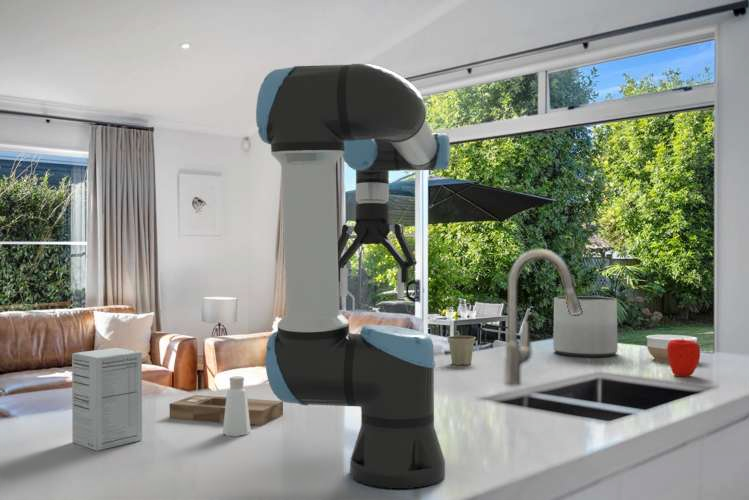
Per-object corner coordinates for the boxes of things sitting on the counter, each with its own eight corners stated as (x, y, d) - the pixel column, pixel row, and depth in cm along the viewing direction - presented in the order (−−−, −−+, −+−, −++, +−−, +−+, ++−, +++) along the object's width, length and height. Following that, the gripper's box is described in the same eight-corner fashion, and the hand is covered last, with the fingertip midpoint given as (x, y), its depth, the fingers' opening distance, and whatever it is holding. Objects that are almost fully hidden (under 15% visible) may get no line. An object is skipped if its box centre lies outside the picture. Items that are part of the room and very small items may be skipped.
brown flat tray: (262, 425, 142) (262, 409, 142) (169, 417, 149) (169, 402, 149) (282, 414, 152) (282, 400, 152) (195, 408, 158) (195, 394, 158)
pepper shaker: (223, 437, 133) (223, 380, 133) (221, 430, 138) (222, 375, 138) (251, 435, 134) (252, 378, 134) (249, 429, 139) (249, 374, 139)
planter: (576, 348, 265) (576, 295, 265) (629, 354, 248) (629, 298, 248) (540, 353, 251) (540, 297, 251) (595, 360, 234) (595, 300, 234)
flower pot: (444, 365, 221) (444, 338, 221) (449, 361, 230) (449, 335, 230) (473, 366, 219) (473, 339, 219) (477, 362, 228) (477, 336, 228)
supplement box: (117, 432, 136) (117, 347, 136) (143, 440, 130) (144, 351, 131) (70, 442, 129) (70, 352, 129) (95, 451, 123) (96, 356, 123)
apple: (706, 377, 200) (706, 340, 200) (683, 379, 197) (683, 341, 197) (682, 372, 208) (682, 336, 208) (660, 374, 205) (660, 337, 205)
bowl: (635, 358, 238) (635, 335, 238) (674, 356, 243) (674, 333, 243) (668, 365, 223) (668, 340, 223) (708, 363, 228) (708, 338, 228)
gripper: (429, 203, 156) (429, 297, 156) (327, 205, 164) (327, 295, 164) (421, 200, 149) (421, 298, 149) (315, 203, 157) (314, 296, 157)
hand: (371, 297), depth 156 cm, fingers open, 13 cm apart
